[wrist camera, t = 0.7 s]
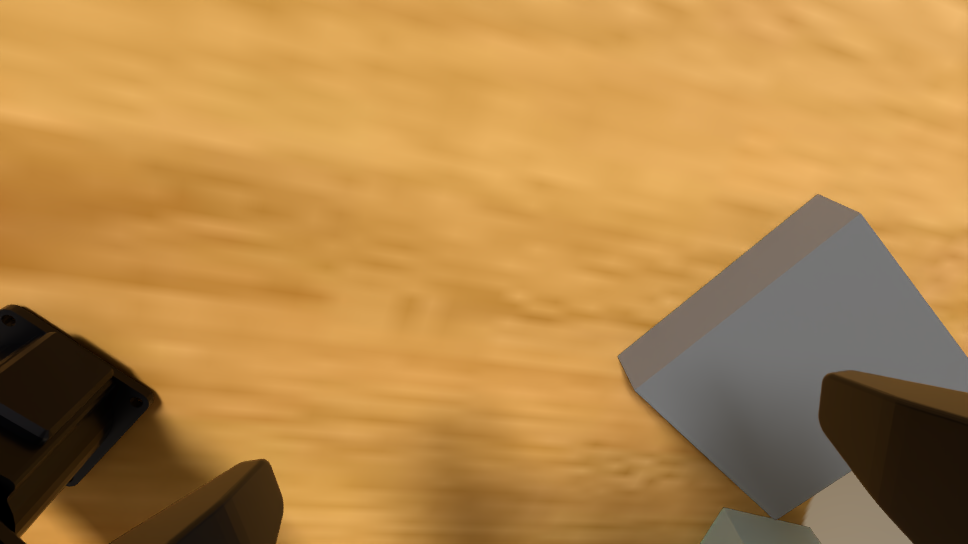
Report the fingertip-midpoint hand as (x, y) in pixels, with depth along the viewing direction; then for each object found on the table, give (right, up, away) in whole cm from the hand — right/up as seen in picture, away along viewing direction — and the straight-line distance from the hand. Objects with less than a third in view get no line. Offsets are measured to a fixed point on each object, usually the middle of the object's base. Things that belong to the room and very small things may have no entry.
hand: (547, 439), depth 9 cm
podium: (+12, -1, +15) cm, 19 cm away
